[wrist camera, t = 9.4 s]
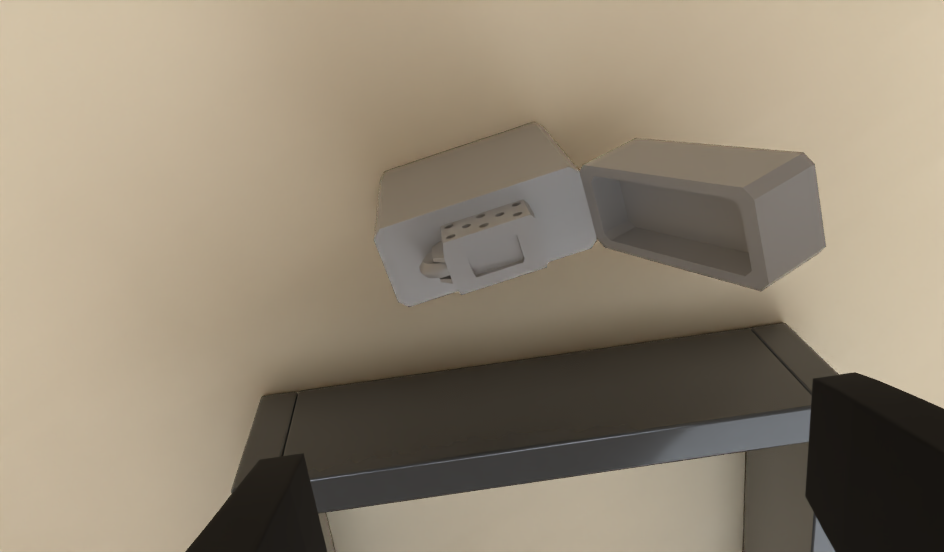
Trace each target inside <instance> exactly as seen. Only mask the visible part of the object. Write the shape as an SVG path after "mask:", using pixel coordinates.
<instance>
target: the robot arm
mask: <svg viewBox="0 0 944 552" xmlns="http://www.w3.org/2000/svg"><path fill="white" fill-rule="evenodd" d="M805 497H806V499H807V500H808V502H809V504H810V506H811V508H812V510H813V512H814V514H815V516H816V518H817V520H818V521H819V523H820V525H821V527H822V529H823V531H824V533H825V534H826V536H827V538H828V540H829V541H830V543H831V545H832V547H833V549H834V550H835V552H944V409H943V408H941V407H938V406H936V405H934V404H932V403H929V402H927V401H925V400H923V399H920V398H918V397H916V396H913V395H911V394H909V393H906V392H904V391H902V390H899V389H897V388H895V387H892V386H890V385H887V384H885V383H883V382H880V381H878V380H875V379H872V378H870V377H867V376H864V375H861V374H858V373H848V374H841V375H834V376H827V377H820V378H814V379H813V383H812V398H811V414H810V429H809V445H808V460H807V476H806V491H805ZM186 552H327V548H326V544H325V540H324V536H323V532H322V527H321V523H320V519H319V515H318V511H317V507H316V503H315V498H314V494H313V490H312V486H311V482H310V478H309V474H308V470H307V465H306V461H305V457H304V453H301V454H294V455H287V456H280V457H274V458H267V459H260V460H259V461H258V462H257V463H256V465H255V466H254V467H253V468H252V469H251V471H250V472H249V473H248V474H247V476H246V477H245V478H244V479H243V481H242V482H241V483H240V484H239V486H238V487H237V488H236V489H235V491H234V492H233V493H232V494H231V496H230V497H229V498H228V500H227V501H226V502H225V503H224V505H223V506H222V507H221V508H220V510H219V511H218V512H217V513H216V515H215V516H214V517H213V519H212V520H211V521H210V522H209V524H208V525H207V526H206V527H205V529H204V530H203V531H202V532H201V533H200V535H199V536H198V537H197V538H196V540H195V541H194V542H193V543H192V544H191V546H190V547H189V548H188V549H187V550H186Z"/></svg>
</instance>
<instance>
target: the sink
mask: <svg viewBox="0 0 944 552" xmlns="http://www.w3.org/2000/svg"><path fill="white" fill-rule="evenodd" d="M834 375H839V374H838V373H837V372H836V371H835V370H834V369H833V368H831V367H830V366H829V365H828V364H827V363H826V362H825V361H824V360H823V359H822V358H821V357H820V356H819V355H818V354H817V353H816V352H815V351H814V350H813V349H812V348H811V347H810V346H809V345H808V344H806V343H805V342H804V341H803V340H802V339H801V338H800V337H799V336H798V335H797V334H796V333H795V332H794V331H793V330H792V329H791V328H790V327H789V326H788V325H787V324H786V323H779V324H772V325H765V326H758V327H752V328H751V329H749V328H745V329H738V330H731V331H723V332H716V333H709V334H702V335H695V336H688V337H681V338H674V339H667V340H659V341H652V342H645V343H638V344H631V345H624V346H617V347H610V348H602V349H595V350H588V351H581V352H574V353H567V354H560V355H553V356H545V357H538V358H531V359H524V360H517V361H510V362H503V363H496V364H488V365H481V366H474V367H467V368H460V369H453V370H446V371H439V372H432V373H424V374H417V375H410V376H403V377H396V378H389V379H382V380H375V381H367V382H360V383H353V384H346V385H339V386H332V387H325V388H318V389H310V390H303V391H299V392H298V393H297V392H289V393H282V394H275V395H268V396H263V397H261V400H260V403H259V406H258V409H257V412H256V415H255V418H254V421H253V424H252V427H251V430H250V434H249V437H248V440H247V443H246V446H245V449H244V452H243V455H242V458H241V461H240V464H239V467H238V470H237V474H236V477H235V480H234V483H233V486H232V489H231V493H233V492H234V491H235V489H236V488H237V487H238V486H239V484H240V483H241V482H242V481H243V479H244V478H245V477H246V476H247V474H248V473H249V472H250V471H251V469H252V468H253V467H254V466H255V465H256V463H257V462H258V461H259V460H260V459H267V458H274V457H280V456H287V455H294V454H301V453H304V457H305V461H306V465H307V470H308V474H309V478H310V482H311V486H312V490H313V494H314V498H315V503H316V507H317V511H318V515H319V519H320V523H321V527H322V532H323V536H324V540H325V544H326V548H327V552H335V549H334V545H333V541H332V536H331V532H330V528H329V524H328V519H327V515H326V512H332V511H339V510H346V509H353V508H360V507H367V506H374V505H380V504H387V503H394V502H401V501H408V500H415V499H422V498H428V497H435V496H442V495H449V494H456V493H463V492H470V491H477V490H483V489H490V488H497V487H504V486H511V485H518V484H525V483H532V482H538V481H545V480H552V479H559V478H566V477H573V476H580V475H587V474H593V473H600V472H607V471H614V470H621V469H628V468H635V467H642V466H648V465H655V464H662V463H669V462H676V461H683V460H690V459H697V458H703V457H710V456H717V455H724V454H731V453H738V452H745V451H747V452H746V484H745V515H744V547H743V552H835V550H834V549H833V547H832V545H831V543H830V541H829V540H828V538H827V536H826V534H825V533H824V531H823V529H822V527H821V525H820V523H819V521H818V520H817V518H816V516H815V514H814V512H813V510H812V508H811V506H810V504H809V502H808V500H807V499H806V497H805V491H806V476H807V460H808V445H809V429H810V414H811V398H812V383H813V379H814V378H820V377H827V376H834Z"/></svg>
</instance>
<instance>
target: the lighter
mask: <svg viewBox="0 0 944 552" xmlns="http://www.w3.org/2000/svg"><path fill="white" fill-rule="evenodd" d="M597 239H598V240H599V241H600V242H601V244H602V245H603V246H604V247H605V248H608V249H612V250H616V251H619V252H623V253H626V254H630V255H633V256H637V257H641V258H644V259H648V260H651V261H655V262H658V263H662V264H666V265H669V266H673V267H676V268H680V269H683V270H687V271H690V272H694V273H698V274H701V275H705V276H708V277H712V278H715V279H719V280H723V281H726V282H730V283H733V284H737V285H740V286H744V287H748V288H751V289H755V290H758V291H762V290H764V289H765V288H767V287H769V286H770V285H772V284H773V283H775V282H776V281H778V280H779V279H781V278H782V277H784V276H785V275H787V274H788V273H790V272H791V271H793V270H794V269H796V268H797V267H799V266H800V265H802V264H803V263H805V262H806V261H808V260H809V259H811V258H813V257H814V256H816V255H817V254H818V253H819V252H820V251H822V250H823V249H824V248H825V247H826V243H825V236H824V229H823V221H822V214H821V207H820V199H819V192H818V185H817V177H816V170H815V164H814V163H813V162H812V161H811V160H810V159H809V158H808V157H807V156H806V155H805V154H804V153H803V152H791V151H779V150H768V149H756V148H744V147H733V146H721V145H709V144H698V143H686V142H674V141H663V140H651V139H639V138H635V139H633V140H631V141H629V142H627V143H625V144H623V145H621V146H619V147H617V148H615V149H613V150H611V151H609V152H607V153H605V154H603V155H601V156H599V157H597V158H596V159H594V160H592V161H590V162H588V163H586V164H584V165H583V166H582V168H581V170H580V171H579V170H578V169H577V167H576V166H575V165H574V164H573V163H572V161H571V160H570V159H569V158H568V156H567V155H566V154H565V153H564V152H563V150H562V149H561V148H560V147H559V145H558V144H557V143H556V142H555V141H554V139H553V138H552V137H551V136H550V135H549V133H548V132H547V131H546V130H545V128H544V127H543V126H541V125H539V124H537V123H535V122H532V123H529V124H526V125H523V126H520V127H517V128H514V129H511V130H508V131H505V132H502V133H499V134H496V135H493V136H490V137H487V138H484V139H481V140H478V141H475V142H472V143H469V144H466V145H463V146H460V147H457V148H454V149H451V150H448V151H445V152H442V153H439V154H436V155H433V156H430V157H427V158H424V159H421V160H418V161H415V162H412V163H409V164H406V165H403V166H400V167H397V168H394V169H390V170H387V171H385V172H384V174H383V176H382V178H381V180H380V187H379V197H378V206H377V215H376V225H375V234H374V242H375V244H376V247H377V249H378V252H379V254H380V257H381V259H382V262H383V265H384V267H385V270H386V272H387V275H388V277H389V280H390V282H391V285H392V287H393V290H394V293H395V295H396V298H397V300H398V302H399V303H401V304H404V305H406V306H408V307H411V306H414V305H417V304H420V303H423V302H427V301H430V300H433V299H436V298H439V297H442V296H445V295H448V294H451V293H454V292H457V291H459V292H460V294H461V295H463V294H466V293H469V292H472V291H475V290H478V289H481V288H485V287H488V286H491V285H494V284H497V283H500V282H503V281H506V280H509V279H512V278H516V277H519V276H522V275H525V274H528V273H531V272H534V271H537V270H540V269H543V268H546V267H547V264H548V262H550V261H553V260H557V259H560V258H563V257H566V256H569V255H572V254H575V253H578V252H581V251H584V250H587V249H591V248H592V247H593V245H594V243H595V242H596V240H597Z"/></svg>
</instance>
